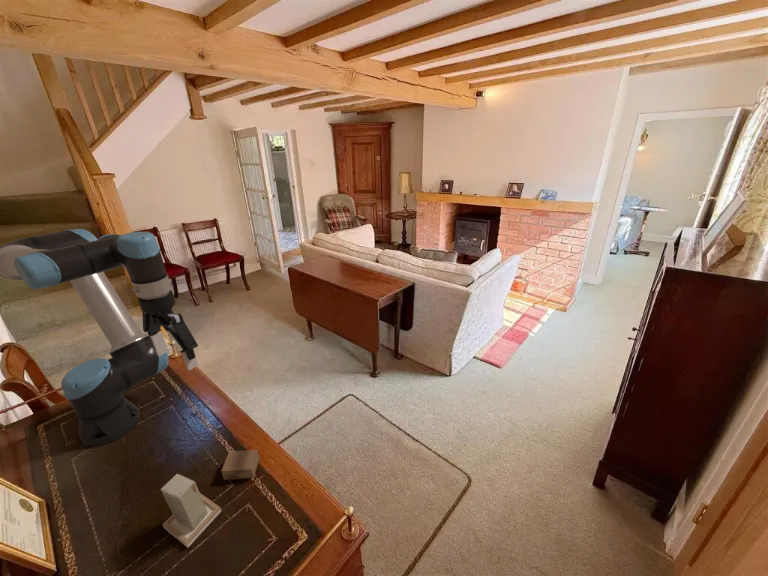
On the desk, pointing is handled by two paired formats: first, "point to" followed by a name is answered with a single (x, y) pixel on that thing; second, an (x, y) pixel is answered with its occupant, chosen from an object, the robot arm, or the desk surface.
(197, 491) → the skincare box
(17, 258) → the robot arm
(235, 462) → the walnut box
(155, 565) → the desk surface
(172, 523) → the picture frame
